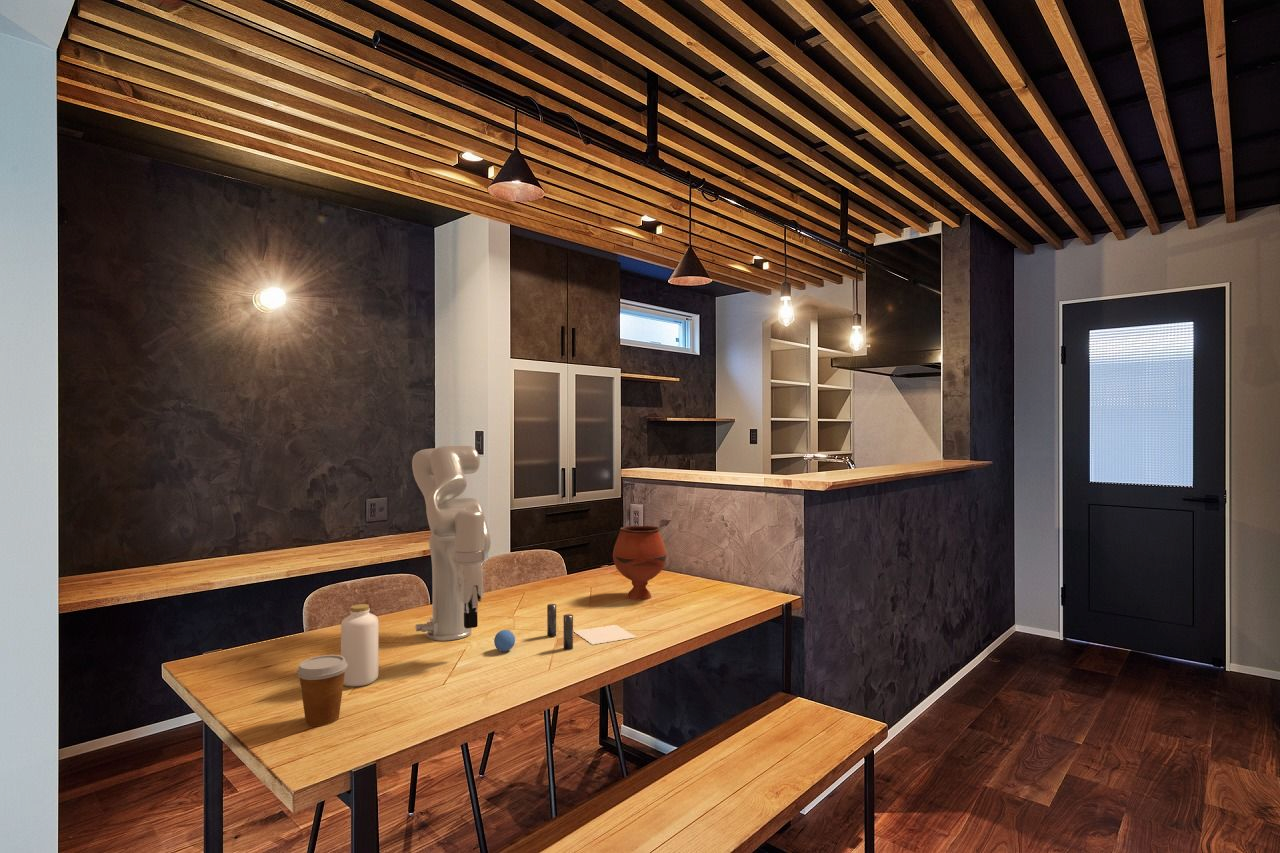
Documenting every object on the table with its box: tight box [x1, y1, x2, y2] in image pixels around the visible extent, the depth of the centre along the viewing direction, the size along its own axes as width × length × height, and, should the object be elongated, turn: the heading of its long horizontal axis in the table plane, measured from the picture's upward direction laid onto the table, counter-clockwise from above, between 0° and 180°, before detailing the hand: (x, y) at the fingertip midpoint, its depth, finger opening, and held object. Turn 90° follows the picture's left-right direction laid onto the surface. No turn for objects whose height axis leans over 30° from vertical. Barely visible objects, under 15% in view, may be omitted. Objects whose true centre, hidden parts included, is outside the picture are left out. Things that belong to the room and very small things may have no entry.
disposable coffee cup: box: [296, 654, 348, 727], centre depth 139 cm, size 10×10×12 cm
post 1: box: [546, 603, 557, 638], centre depth 195 cm, size 3×3×9 cm
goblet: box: [612, 525, 667, 601], centre depth 240 cm, size 19×19×25 cm
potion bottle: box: [340, 603, 379, 688], centre depth 160 cm, size 8×8×18 cm
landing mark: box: [573, 624, 638, 646], centre depth 196 cm, size 14×14×1 cm
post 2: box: [563, 613, 574, 651], centre depth 183 cm, size 3×3×9 cm
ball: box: [493, 629, 516, 652], centre depth 181 cm, size 6×6×6 cm
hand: (470, 627), depth 176 cm, fingers closed
